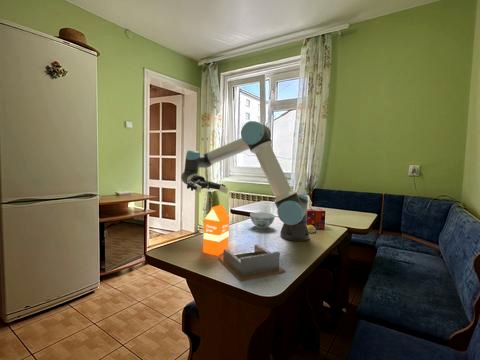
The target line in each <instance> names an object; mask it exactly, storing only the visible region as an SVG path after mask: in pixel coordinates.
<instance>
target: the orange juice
mask: <svg viewBox="0 0 480 360" xmlns="http://www.w3.org/2000/svg"><path fill="white" fill-rule="evenodd" d="M229 233H230V216H229V215H228V212H227V210H226V208H225V207H224V205H223V204H219V205H215V206H212V207H211V209H210V210H209V212H208V213H207V214H206V216H205V218H204V219H203V242H202V243H203V244H202V245H203V248H202V249H203V250H202V252H203V253H204V254H208V255H212V256H213V255H214V256H218V257H220V255H222V254H223V251H224V249H225V248H227V249H228V250H229V238H230V237H229V236H230V235H229Z"/></svg>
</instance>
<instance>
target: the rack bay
mask: <svg viewBox="0 0 480 360" xmlns="http://www.w3.org/2000/svg"><path fill="white" fill-rule="evenodd" d="M222 254H223V255H222V256H218V258H217V259H218V261H220V262H221V263H222V265H223V266H224V267H226V268H227V270H229V271H230V273H232V274H233V275H234V276H235V278H237V279H238V280H239V281H240V282H244V281H249V280H253V279H259V278H263V277H268V276H273V275H279V274H282V273H283V274H284V273H285V272H286V270H285V269H284V268H282V267H280V260H281V259H280V257H281V252H280V251H275V252H270V251H269V250H267V249H266V248H264V247H262V246H261V245H259V244H254V250H252V251H247V252H246V251H245V252H238V253H233V252H232V251H231V250H229V248H228V249H227V248H225V249H224V251H223V253H222Z"/></svg>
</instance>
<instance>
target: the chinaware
mask: <svg viewBox="0 0 480 360" xmlns="http://www.w3.org/2000/svg"><path fill="white" fill-rule="evenodd" d="M249 215H250V220H251V222H252V224H254V225H255V227H256V228H257V229H261V230H263V229H264V230H265V229H268V227H269V226H271V225H272V224H273V222H274V221H275V218H276V215H275V214H273V213H271V212H264V211H261V212H257V211H255V212H251V213H249Z"/></svg>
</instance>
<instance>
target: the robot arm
mask: <svg viewBox="0 0 480 360" xmlns="http://www.w3.org/2000/svg"><path fill="white" fill-rule="evenodd" d="M271 133H272V131H271V130H270V128H269V126H267V125H266V124H263V123H262V122H261V121H259V120H248V121H247V122H245V123H244V124H243V126H242V127H241V131H240V138H238V139H235V140H233V141H231V142H229V143H227V144H225V145H221V146H220V147H217V148H215V149H213V150H211V151H209V152H206V153H204V154H201V153H200V151H199V150H187V151H186V153H185V154H186V155H185V159H184V160H185V161H184V169H183V172H182V173H181V175H180V179H181V181H182V182H183V183H184V184H185V185H186V189H188V190H189V189H190V191H195V192H197V193H198V194H199V193H200V194H201V192H202V190H203V189H208V190H209V189H213V190H217V191H220V192H221V193H224V194H228V190H229V188H228V187H226V185H225V184H223V183H216V182H213V181H207V180H206V178H205V177H203V176H202V175H200V174H198V173H199V168H201V169H202V168H203V169H204V168H205V169H207V168H210V167H211V166H212V165H214V164H216V163H219V162H221V161H224V160H226V159H229V158H231V157H233V156H236V155H238V154H241V153H244V152H247V151H248V150H249V151H250V152H251V153H252V154H254V155H255V157H256V159H257V161H258V163H259V166H260V168H261V169H262V172H263V173H264V176H265V178H266V180H267V183H268V184H269V186H270V188H271V191H272V192H273V195H274V197H275V199H274V204H275V207H276V208H277V211H276V212H277V217H278V219H279V221H281V222H282V223H283V224H282V227H281V230H280V234H279V236H280V237H281V238H282V239H284V240H288V241H293V242H294V241H295V242H306V241H308V240H309V239H310V233H309V232H308V228H307V225H308V224H307V220H308V205H309V204H308V203H309V197H308V196H307V195H304V194H298V192H297V191H296V190H292V188H291V185H290V183H289V181H288V179H287V177H286V175H285V173H284V171H283V169H282V167H281V165H280V163H279V161H278V158H277V157H276V154H275V152H274V150H273V148H272V144H273V141H272V139H271V138H272V134H271Z"/></svg>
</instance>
